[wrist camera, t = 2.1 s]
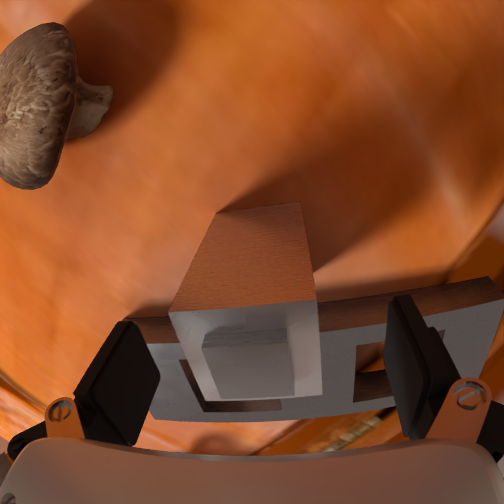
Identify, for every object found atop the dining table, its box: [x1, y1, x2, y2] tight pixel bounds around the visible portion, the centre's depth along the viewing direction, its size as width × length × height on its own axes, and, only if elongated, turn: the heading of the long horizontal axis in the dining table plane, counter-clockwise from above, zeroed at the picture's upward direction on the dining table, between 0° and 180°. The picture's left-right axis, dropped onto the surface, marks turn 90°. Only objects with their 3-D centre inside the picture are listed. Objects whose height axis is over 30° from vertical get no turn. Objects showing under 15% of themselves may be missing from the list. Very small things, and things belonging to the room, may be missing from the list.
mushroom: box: [0, 22, 114, 190], centre depth 12 cm, size 8×8×6 cm
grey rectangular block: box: [168, 202, 322, 401], centre depth 13 cm, size 4×4×9 cm
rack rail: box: [122, 276, 504, 422], centre depth 19 cm, size 24×8×2 cm, turn 100°
